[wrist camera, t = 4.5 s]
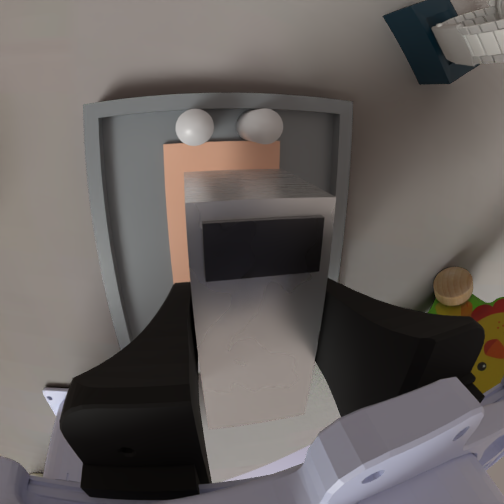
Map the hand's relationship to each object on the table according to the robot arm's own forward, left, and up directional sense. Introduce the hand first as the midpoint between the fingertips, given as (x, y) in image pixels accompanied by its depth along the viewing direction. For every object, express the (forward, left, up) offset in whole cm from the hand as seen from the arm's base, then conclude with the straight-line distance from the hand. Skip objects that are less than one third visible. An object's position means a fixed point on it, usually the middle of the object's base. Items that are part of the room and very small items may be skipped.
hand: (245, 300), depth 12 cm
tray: (0, 0, -8) cm, 8 cm away
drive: (0, 0, -2) cm, 2 cm away
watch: (+14, -14, -8) cm, 21 cm away
